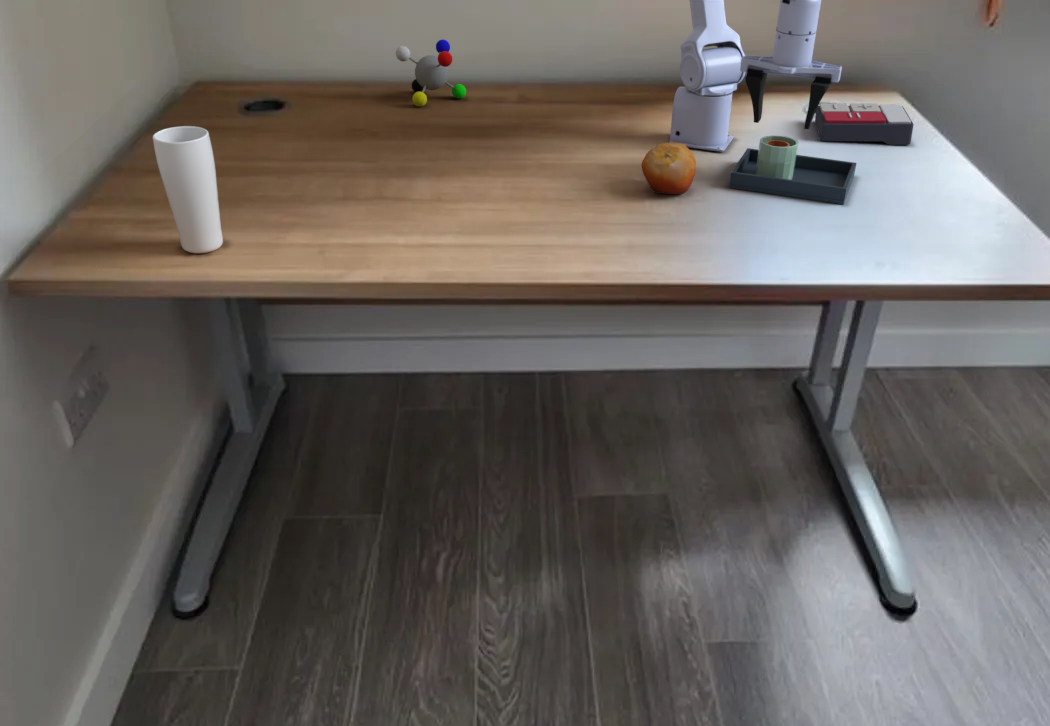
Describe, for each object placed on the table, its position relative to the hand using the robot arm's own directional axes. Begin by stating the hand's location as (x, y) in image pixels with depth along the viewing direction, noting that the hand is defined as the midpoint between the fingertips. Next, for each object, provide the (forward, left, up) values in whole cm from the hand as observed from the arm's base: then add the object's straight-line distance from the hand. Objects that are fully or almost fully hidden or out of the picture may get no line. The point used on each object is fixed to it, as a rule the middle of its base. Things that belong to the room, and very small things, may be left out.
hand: (782, 124), depth 149 cm
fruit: (-14, -13, -8) cm, 21 cm away
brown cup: (0, -2, -7) cm, 7 cm away
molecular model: (-68, +15, -8) cm, 70 cm away
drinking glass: (-65, -57, -8) cm, 87 cm away
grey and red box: (+10, +27, -8) cm, 30 cm away
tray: (+3, -2, -8) cm, 9 cm away
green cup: (0, -2, -8) cm, 8 cm away
